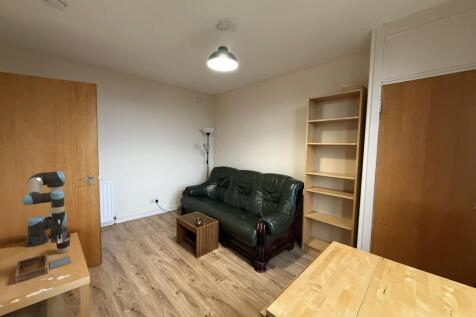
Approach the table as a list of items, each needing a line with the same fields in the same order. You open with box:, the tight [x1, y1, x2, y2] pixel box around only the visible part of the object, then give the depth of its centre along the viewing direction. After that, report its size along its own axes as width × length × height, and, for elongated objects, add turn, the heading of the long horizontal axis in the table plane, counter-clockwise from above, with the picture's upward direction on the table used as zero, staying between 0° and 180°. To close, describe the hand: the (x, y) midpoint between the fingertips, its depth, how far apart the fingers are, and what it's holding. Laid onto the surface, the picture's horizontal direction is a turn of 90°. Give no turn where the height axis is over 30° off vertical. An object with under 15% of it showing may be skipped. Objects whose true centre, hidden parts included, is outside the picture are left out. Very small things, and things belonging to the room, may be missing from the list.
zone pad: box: [49, 255, 72, 270], centre depth 156 cm, size 12×12×1 cm
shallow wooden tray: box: [14, 253, 49, 284], centre depth 146 cm, size 22×15×5 cm
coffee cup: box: [55, 232, 71, 254], centre depth 171 cm, size 10×10×15 cm
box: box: [50, 225, 68, 244], centre depth 155 cm, size 8×6×11 cm
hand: (59, 240), depth 155 cm, fingers closed on box, 9 cm apart
